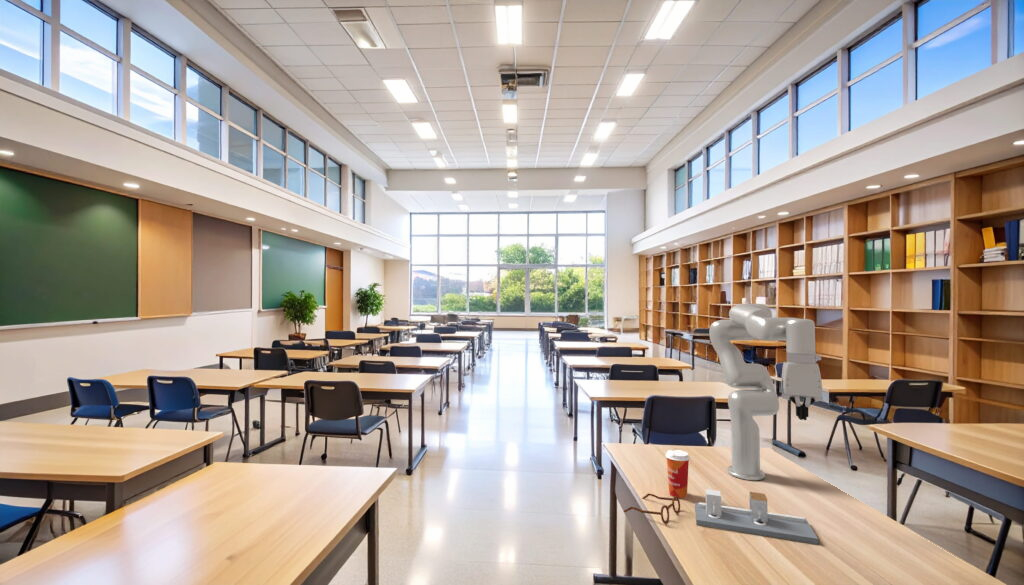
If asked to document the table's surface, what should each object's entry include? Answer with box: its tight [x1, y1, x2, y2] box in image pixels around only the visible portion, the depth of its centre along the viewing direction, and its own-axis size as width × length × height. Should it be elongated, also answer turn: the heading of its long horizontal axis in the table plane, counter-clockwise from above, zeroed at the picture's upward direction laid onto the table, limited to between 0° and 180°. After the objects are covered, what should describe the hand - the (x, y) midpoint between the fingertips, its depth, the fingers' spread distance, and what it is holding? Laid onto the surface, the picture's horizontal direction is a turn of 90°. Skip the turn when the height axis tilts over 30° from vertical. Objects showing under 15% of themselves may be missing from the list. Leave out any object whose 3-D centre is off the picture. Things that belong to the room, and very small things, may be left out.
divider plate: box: [694, 488, 819, 545], centre depth 129 cm, size 12×30×8 cm, turn 69°
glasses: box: [623, 493, 681, 524], centre depth 137 cm, size 13×13×5 cm
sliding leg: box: [749, 491, 768, 523], centre depth 128 cm, size 5×4×7 cm
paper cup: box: [665, 449, 691, 499], centre depth 149 cm, size 8×8×14 cm
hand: (802, 418), depth 135 cm, fingers closed
